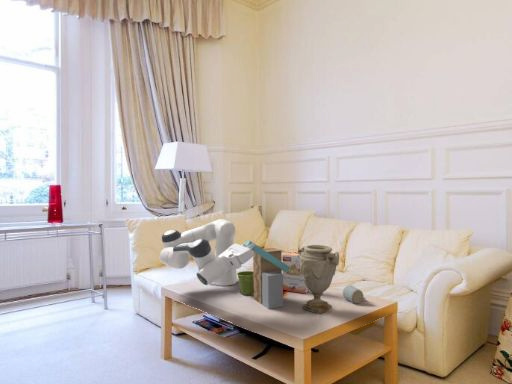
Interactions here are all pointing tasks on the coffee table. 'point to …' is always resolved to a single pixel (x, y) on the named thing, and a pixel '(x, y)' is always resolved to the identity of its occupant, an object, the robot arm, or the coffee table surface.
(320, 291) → the urn
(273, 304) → the grey block
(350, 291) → the ceramic mug
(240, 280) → the plant pot
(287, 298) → the coffee table surface
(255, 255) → the walnut tower
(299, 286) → the cracker box
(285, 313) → the coffee table surface
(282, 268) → the teal bar
